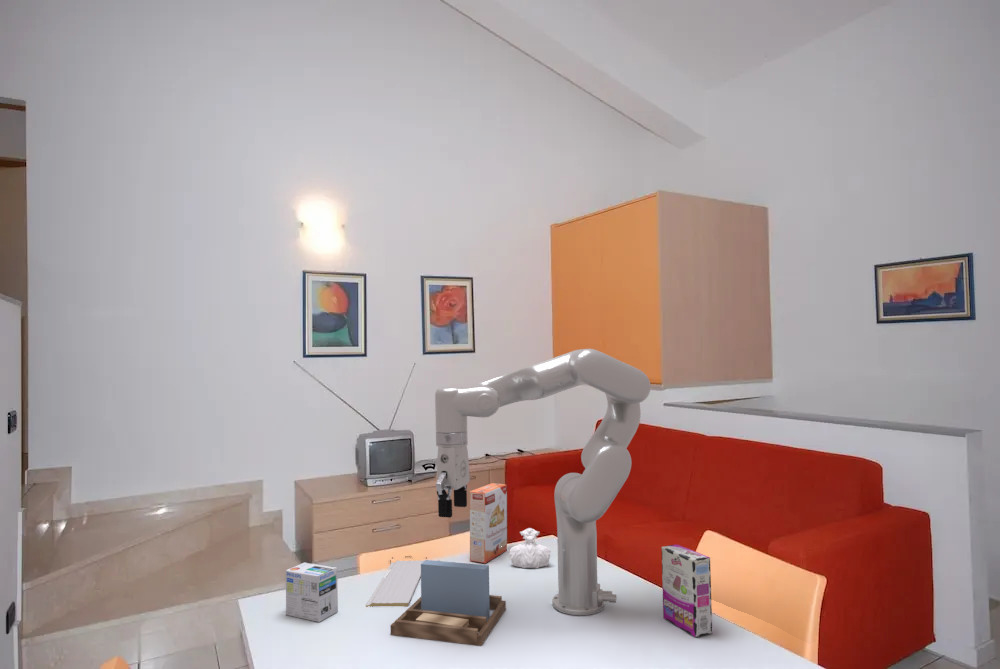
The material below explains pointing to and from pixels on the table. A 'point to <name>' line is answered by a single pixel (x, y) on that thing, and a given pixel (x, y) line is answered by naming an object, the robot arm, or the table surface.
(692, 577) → the candy bar box
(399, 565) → the baseboard molding
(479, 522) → the cracker box
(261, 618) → the table surface
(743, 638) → the table surface
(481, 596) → the blue rectangular block
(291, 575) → the light bulb box
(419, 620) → the tan rectangular block
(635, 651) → the table surface
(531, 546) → the tied white plastic bag
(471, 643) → the rack
